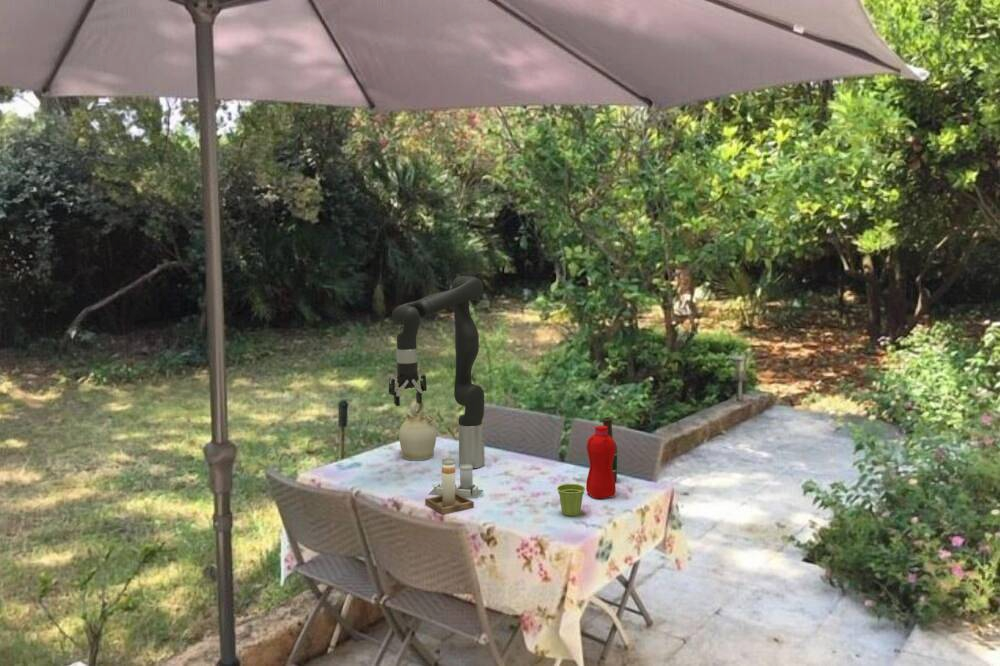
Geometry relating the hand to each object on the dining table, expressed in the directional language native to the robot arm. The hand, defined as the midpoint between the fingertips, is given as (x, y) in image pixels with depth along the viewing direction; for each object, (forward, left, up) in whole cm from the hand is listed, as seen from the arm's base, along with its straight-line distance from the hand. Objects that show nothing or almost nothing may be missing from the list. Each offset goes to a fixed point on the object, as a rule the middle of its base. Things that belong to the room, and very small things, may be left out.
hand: (408, 404), depth 298 cm
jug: (-19, -30, -30) cm, 47 cm away
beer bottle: (-62, +39, -30) cm, 79 cm away
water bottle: (-50, +49, -30) cm, 76 cm away
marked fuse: (+1, +31, -29) cm, 43 cm away
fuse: (-11, +23, -29) cm, 39 cm away
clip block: (-8, +20, -30) cm, 37 cm away
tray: (+1, +31, -30) cm, 43 cm away
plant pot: (-30, +58, -30) cm, 72 cm away
